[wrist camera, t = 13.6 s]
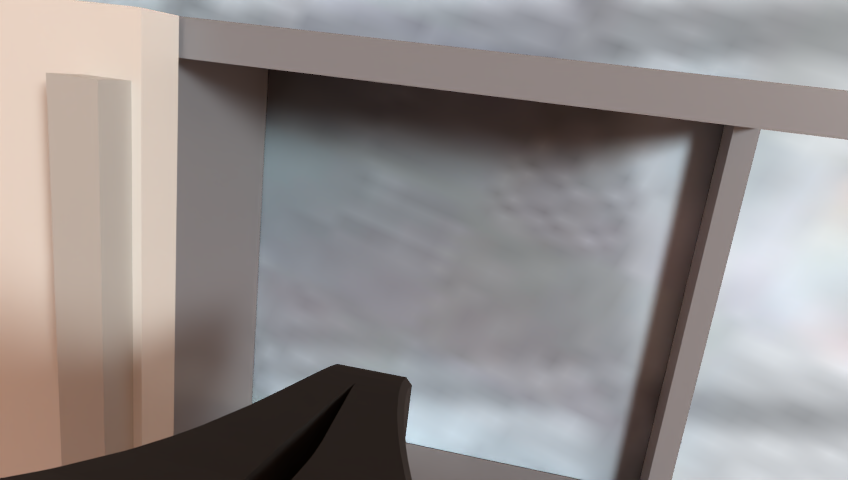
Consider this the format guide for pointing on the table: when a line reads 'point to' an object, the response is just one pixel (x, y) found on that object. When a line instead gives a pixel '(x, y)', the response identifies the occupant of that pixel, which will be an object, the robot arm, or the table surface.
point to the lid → (86, 230)
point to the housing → (444, 70)
